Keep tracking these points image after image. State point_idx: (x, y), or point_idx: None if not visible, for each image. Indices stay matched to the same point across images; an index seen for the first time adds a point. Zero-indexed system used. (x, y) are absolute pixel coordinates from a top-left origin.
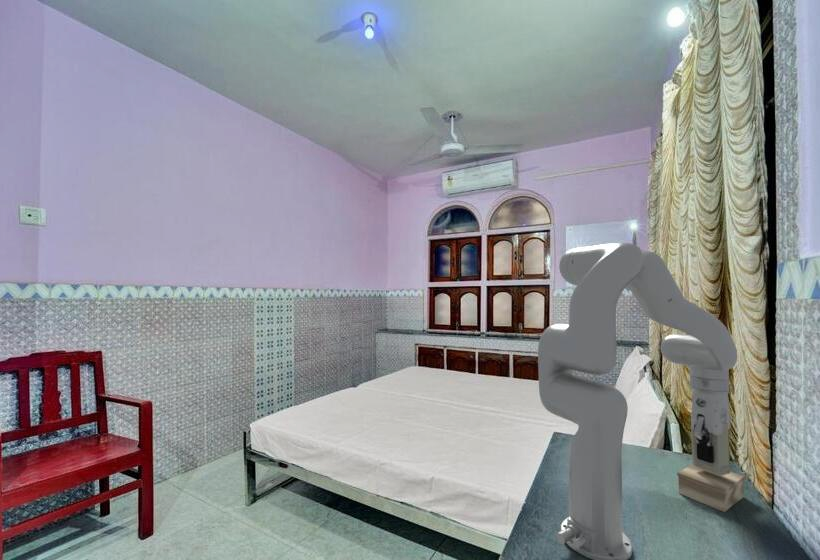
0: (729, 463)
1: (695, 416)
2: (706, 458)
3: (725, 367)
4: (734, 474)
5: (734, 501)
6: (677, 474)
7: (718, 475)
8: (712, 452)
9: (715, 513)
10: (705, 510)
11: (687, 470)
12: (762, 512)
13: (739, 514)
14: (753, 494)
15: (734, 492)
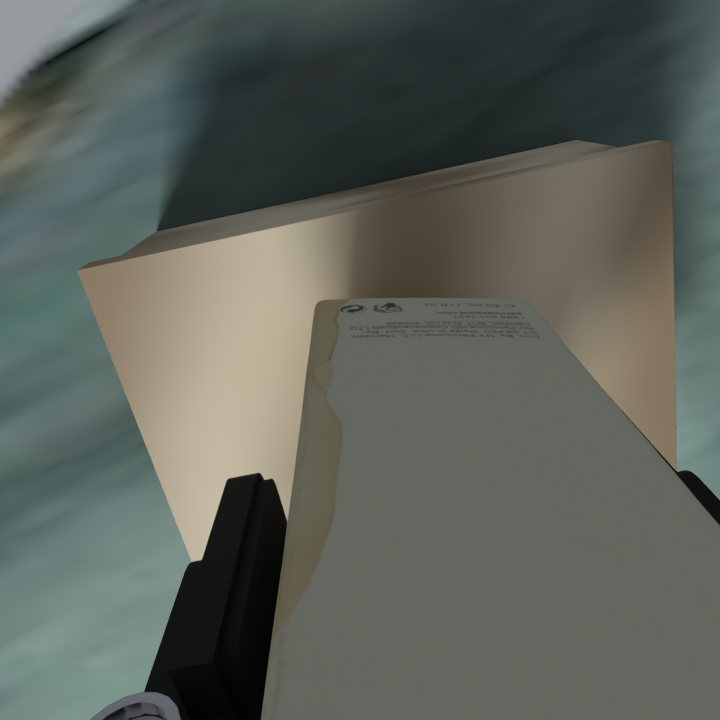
0: (316, 346)
1: None
2: (685, 475)
3: None
4: (149, 332)
5: (361, 189)
6: None
7: (531, 305)
8: (695, 494)
9: None
10: (685, 208)
11: None
12: (269, 19)
13: (498, 72)
14: (22, 230)
15: (356, 203)
